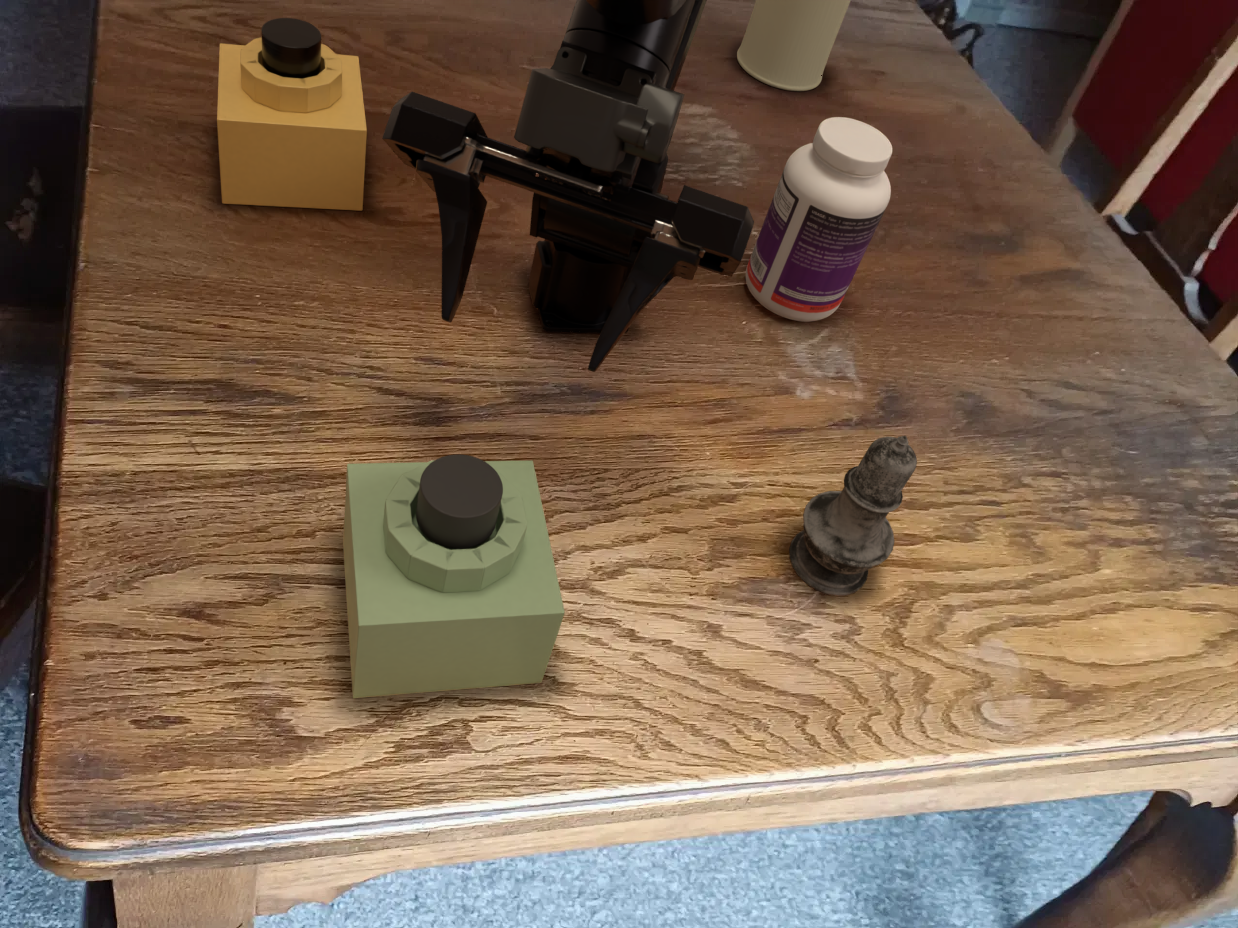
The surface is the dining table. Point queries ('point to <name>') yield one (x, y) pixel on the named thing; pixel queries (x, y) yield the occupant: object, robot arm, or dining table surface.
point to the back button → (291, 48)
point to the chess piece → (853, 520)
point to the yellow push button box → (290, 132)
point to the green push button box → (445, 588)
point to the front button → (458, 501)
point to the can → (791, 41)
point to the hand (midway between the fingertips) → (518, 346)
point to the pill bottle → (821, 220)
